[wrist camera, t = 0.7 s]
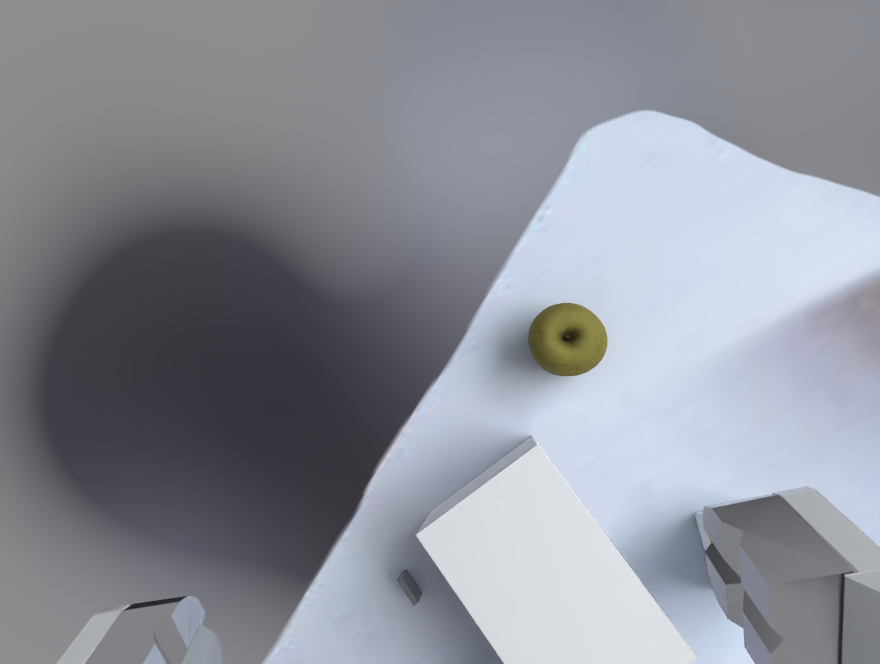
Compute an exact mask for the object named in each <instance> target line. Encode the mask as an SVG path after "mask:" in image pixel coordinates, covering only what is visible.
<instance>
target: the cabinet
mask: <svg viewBox="0 0 880 664" xmlns="http://www.w3.org/2000/svg"><path fill="white" fill-rule="evenodd" d="M416 536H417V538H418V539H419V541H420V542H421V543H422V545H423V546H424V548H425V549H426V551H427V552H428V554H429V555H430V557H431V558H432V559H433V561H434V562H435V564H436V565H437V567H438V568H439V570H440V571H441V573H442V574H443V575H444V577H445V578H446V580H447V581H448V583H449V584H450V586H451V587H452V589H453V590H454V591H455V593H456V594H457V596H458V597H459V599H460V600H461V602H462V603H463V605H464V606H465V607H466V609H467V610H468V612H469V613H470V615H471V616H472V618H473V619H474V621H475V622H476V624H477V625H478V626H479V628H480V629H481V631H482V632H483V634H484V635H485V637H486V638H487V640H488V641H489V642H490V644H491V645H492V647H493V648H494V650H495V651H496V653H497V654H498V656H499V657H500V658H501V660H502V661H503V663H504V664H690V663H691V662H692V661H694V660H695V659H697V656H696V655H695V654H694V652H693V651H692V649H691V648H690V647H689V645H688V644H687V642H686V641H685V640H684V638H683V637H682V635H681V634H680V633H679V631H678V630H677V629H676V627H675V626H674V624H673V623H672V622H671V620H670V619H669V617H668V616H667V615H666V613H665V612H664V610H663V609H662V608H661V606H660V605H659V604H658V602H657V601H656V600H655V598H654V597H653V596H652V594H651V593H650V592H649V590H648V589H647V588H646V586H645V585H644V584H643V582H642V581H641V580H640V579H639V577H638V576H637V575H636V573H635V572H634V571H633V569H632V568H631V567H630V565H629V564H628V563H627V561H626V560H625V559H624V557H623V556H622V555H621V553H620V552H619V551H618V549H617V548H616V547H615V545H614V544H613V543H612V541H611V540H610V539H609V537H608V536H607V535H606V533H605V532H604V531H603V529H602V528H601V527H600V525H599V524H598V523H597V521H596V520H595V519H594V517H593V516H592V515H591V514H590V512H589V511H588V510H587V508H586V507H585V506H584V504H583V503H582V502H581V500H580V499H579V498H578V496H577V495H576V494H575V492H574V491H573V490H572V488H571V487H570V486H569V484H568V483H567V482H566V480H565V479H564V478H563V476H562V475H561V474H560V472H559V471H558V470H557V468H556V467H555V466H554V464H553V463H552V462H551V460H550V459H549V458H548V456H547V455H546V454H545V453H544V451H543V450H542V449H541V447H540V446H539V445H538V443H537V442H536V441H535V439H534V438H533V437H532V436H530V437H529V438H528V439H526V440H525V441H524V442H522V443H521V444H520V445H518V446H517V447H516V448H514V449H513V450H512V451H510V452H509V453H508V454H506V455H505V456H504V457H502V458H501V459H500V460H498V461H497V462H496V463H494V464H493V465H491V466H490V467H489V468H487V469H486V470H485V471H483V472H482V473H481V474H479V475H478V476H477V477H475V478H474V479H473V480H471V481H470V482H469V483H467V484H466V485H465V486H463V487H462V488H461V489H459V490H458V491H457V492H455V493H454V494H452V495H451V496H450V497H448V498H447V499H446V500H444V501H443V502H442V503H440V504H439V505H438V506H436V507H435V508H434V509H432V510H431V511H430V513H429V514H428V516H427V518H426V519H425V521H424V522H423V524H422V526H421V527H420V529H419V531H418V532H417V534H416ZM397 581H398V583H399V584H400V586H401V587H402V589H403V590H404V592H405V593H406V595H407V596H408V598H409V599H410V601H411V602H412V604H413V605H415V604H417V603H418V602H419V599H420V597H421V594H422V592H421V591H420V589H419V588H418V586H417V585H416V583H415V582H414V580H413V579H412V578H411V576H410V575H409V573H408V572H407V570H405V571H404V572H402V573H401V575H400V577H399V579H398V580H397Z"/></svg>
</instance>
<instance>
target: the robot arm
mask: <svg viewBox="0 0 880 664" xmlns="http://www.w3.org/2000/svg"><path fill="white" fill-rule="evenodd" d="M702 518H703V529H704V530H705V532H706V533H707V535H708V536H709V538H710V539H711V541H712V542H711V544H710V545H709V547H708V548H707V550H706V551H705V558H706V567H707V572H708V576H709V579H710V583H711V586H712V589H713V591H714V594H715V596H716V598H717V600H718V602H719V604H720V606H721V608H722V610H723V611H724V613H725V615H726V616H727V618H728V619H729V620H731V621H732V622H734V623H736V624H737V625H739V626H741V627H742V628H744V645H745V648H746V650H747V651H748V653H749V654H750V656H751V658H752V659H753V661H754V663H755V664H880V547H879V546H878V545H877V544H876V543H875V542H874V541H873V540H871V539H870V538H869V537H868V536H867V535H866V534H865V533H864V532H863V531H862V530H860V529H859V528H858V527H857V526H856V525H855V524H854V523H853V522H852V521H850V520H849V519H848V518H847V517H846V516H845V515H844V514H843V513H842V512H840V511H839V510H838V509H837V508H836V507H835V506H834V505H833V504H832V503H830V502H829V501H828V500H827V499H826V498H825V497H824V496H823V495H822V494H820V493H819V492H818V491H817V490H815V489H813V488H810V487H808V486H807V487H802V488H797V489H792V490H787V491H782V492H777V493H773V494H772V495H764V496H759V497H753V498H747V499H742V500H736V501H731V502H725V503H720V504H714V505H709V506H704V510H703V514H702ZM204 616H205V611H204V609H203V607H202V606H201V604H200V602H199V600H198V598H196V597H192V596H183V597H177V598H169V599H163V600H156V601H149V602H142V603H135V604H132V605H126V606H119V607H112V608H105V609H103V610H102V611H100V612H98V613H96V614H95V615H93V616H92V618H91V619H90V620H89V621H88V623H87V624H86V626H85V627H84V628H83V630H82V631H81V632H80V633H79V635H78V636H77V637H76V639H75V640H74V641H73V642H72V644H71V645H70V646H69V648H68V649H67V651H66V652H65V653H64V654H63V656H62V657H61V658H60V660H59V661H58V662H57V664H222V663H223V658H222V652H221V647H220V643H219V641H218V639H217V637H216V634H215V633H214V632H212V631H210V630H209V629H207V628H206V627H204V626H203V625H201V624H202V621H203V619H204Z"/></svg>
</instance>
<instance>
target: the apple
mask: <svg viewBox="0 0 880 664" xmlns="http://www.w3.org/2000/svg"><path fill="white" fill-rule="evenodd" d="M529 347H530V350H531V353H532V355H533V357H534V358H535V360H536V362H537V363H538V364H539V365H540V366H541V367H542V368H543V369H544V370H546V371H548V372H550V373H552V374H555V375H559V376H575V375H580V374H583V373H586V372H588V371H590V370H591V369H593V368H594V367H595V366H596V365H597V364H598V363H599V362H600V361H601V360H602V358H603V356H604V354H605V352H606V348H607V334H606V330H605V328H604V326H603V324H602V322H601V321H600V320H599V319H598V317H597V316H596V315H595V314H593V313H592V312H591V311H590V310H588V309H587V308H585V307H583V306H580V305H577V304H572V303H561V304H556V305H553V306H550V307H548V308H546V309H545V310H543V311H542V312H541V313H540V314H539V315H538V316H537V317H536V318H535V319H534V321H533V323H532V325H531V327H530V330H529Z"/></svg>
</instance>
